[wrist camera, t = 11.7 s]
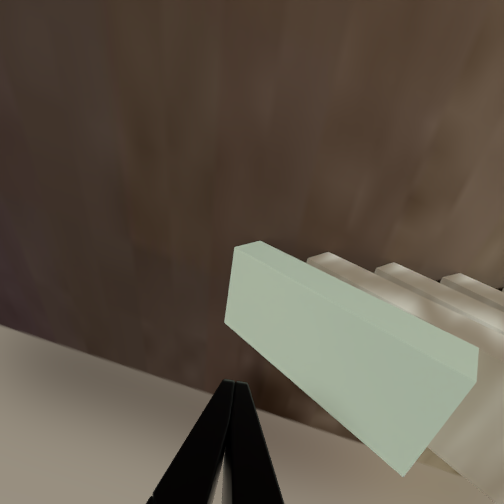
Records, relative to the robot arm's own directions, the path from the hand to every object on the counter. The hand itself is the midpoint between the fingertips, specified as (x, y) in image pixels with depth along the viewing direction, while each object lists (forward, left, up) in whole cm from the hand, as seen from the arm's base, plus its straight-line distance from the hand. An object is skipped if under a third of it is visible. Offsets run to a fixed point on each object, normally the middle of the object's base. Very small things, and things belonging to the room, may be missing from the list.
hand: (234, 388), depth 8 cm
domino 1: (0, 0, -7) cm, 7 cm away
